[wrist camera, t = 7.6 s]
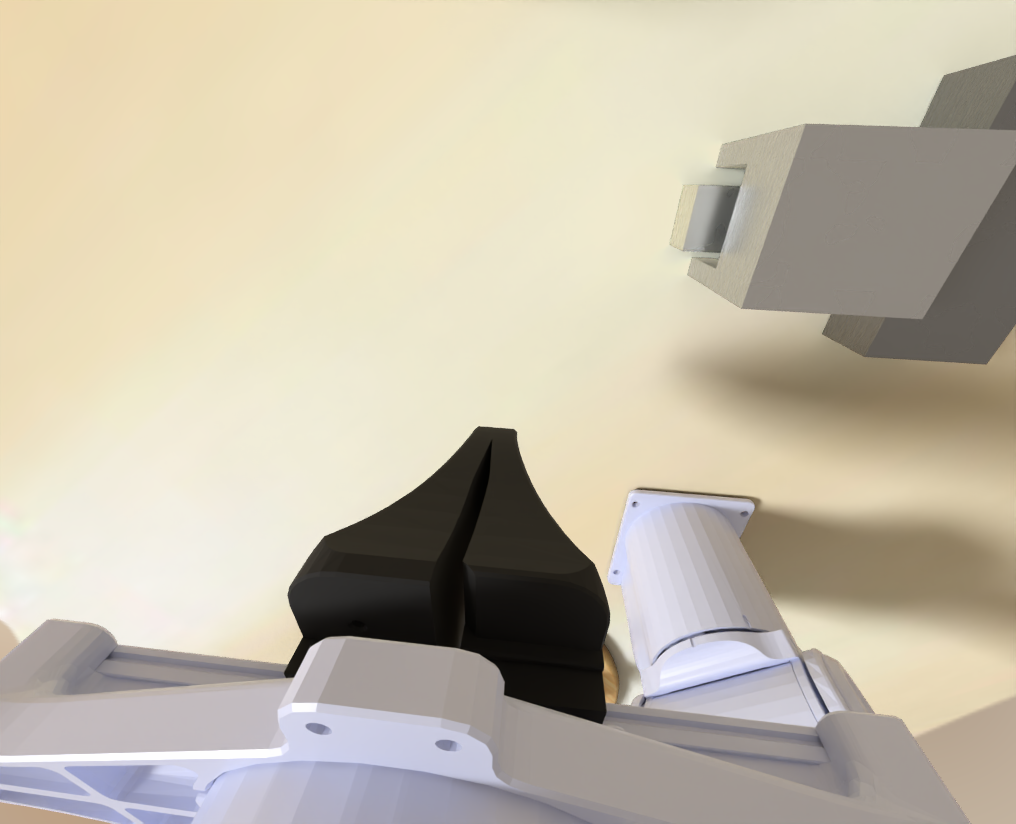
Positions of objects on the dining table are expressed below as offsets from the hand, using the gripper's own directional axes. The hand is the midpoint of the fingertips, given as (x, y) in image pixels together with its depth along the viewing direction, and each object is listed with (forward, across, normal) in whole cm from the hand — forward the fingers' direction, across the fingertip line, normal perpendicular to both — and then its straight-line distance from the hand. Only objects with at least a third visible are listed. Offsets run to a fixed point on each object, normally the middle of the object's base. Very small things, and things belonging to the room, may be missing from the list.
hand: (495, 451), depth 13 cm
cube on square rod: (+9, -11, -7) cm, 16 cm away
